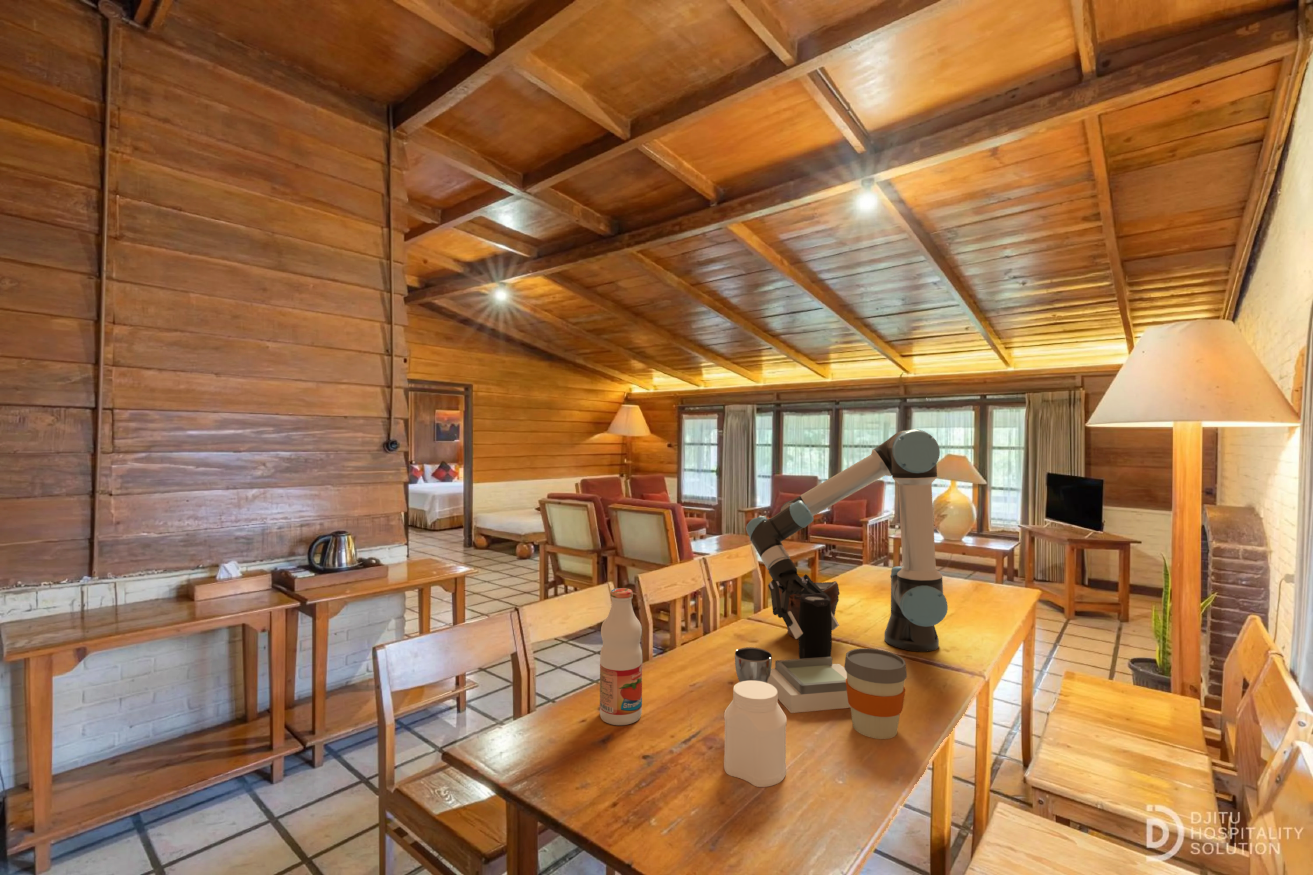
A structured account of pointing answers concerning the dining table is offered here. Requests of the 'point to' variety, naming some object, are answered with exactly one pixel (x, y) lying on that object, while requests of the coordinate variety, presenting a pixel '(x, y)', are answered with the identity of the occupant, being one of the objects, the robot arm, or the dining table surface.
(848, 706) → the dock
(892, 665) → the reusable coffee cup
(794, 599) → the brown tapered open container
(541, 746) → the dining table surface
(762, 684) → the jar
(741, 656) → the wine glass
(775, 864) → the dining table surface
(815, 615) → the portable speaker
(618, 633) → the fruit juice
